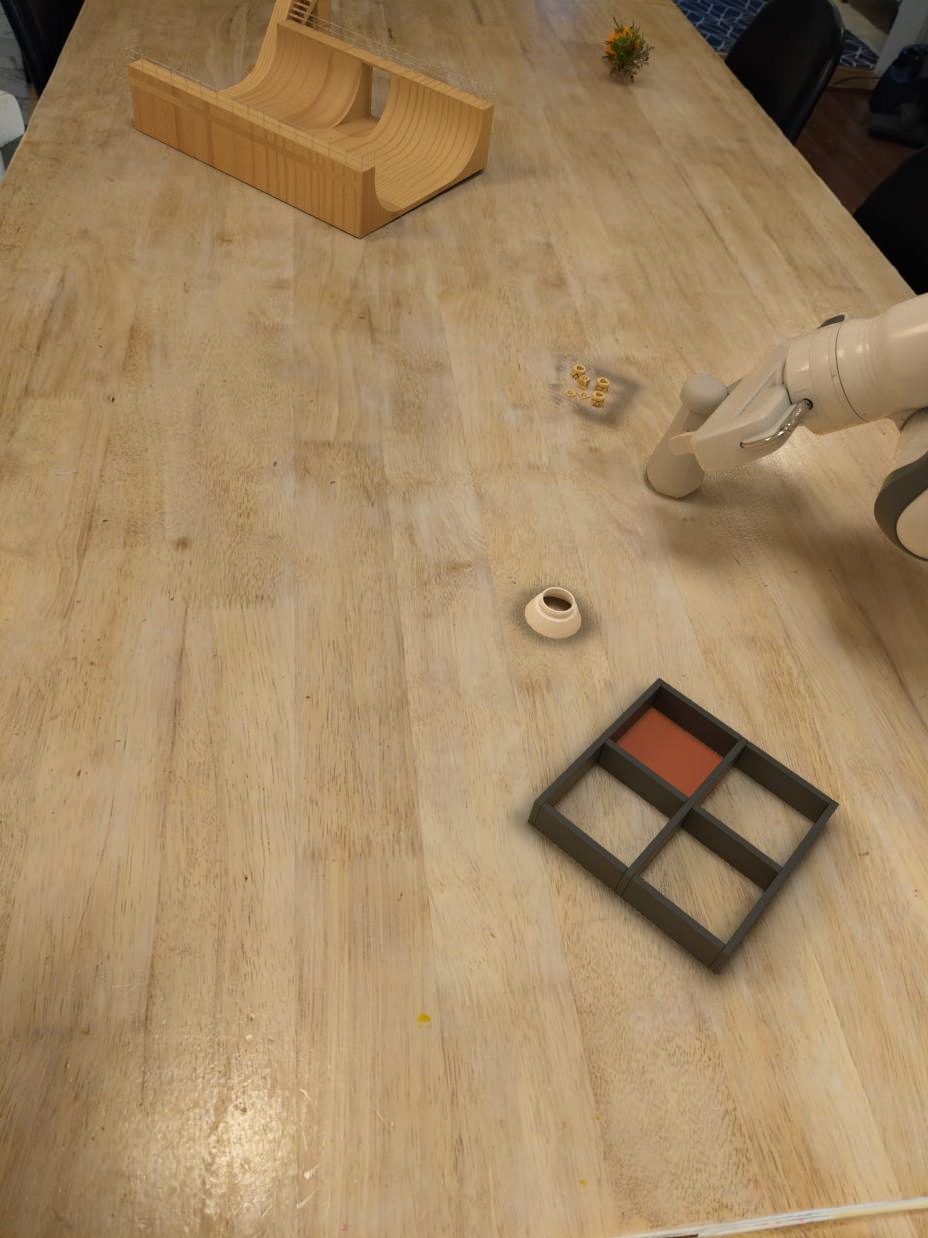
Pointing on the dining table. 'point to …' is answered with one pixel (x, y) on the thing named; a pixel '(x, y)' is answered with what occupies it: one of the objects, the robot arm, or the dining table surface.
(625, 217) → the dining table surface
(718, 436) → the robot arm
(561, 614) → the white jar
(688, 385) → the beige game pawn
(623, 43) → the christmas decoration
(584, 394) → the golden ring cluster
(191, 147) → the skate ramp
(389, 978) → the dining table surface
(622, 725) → the grid
